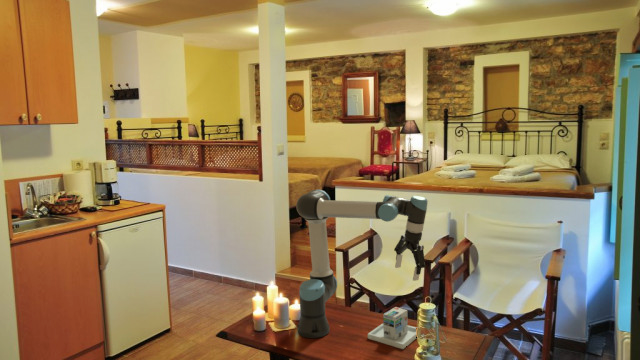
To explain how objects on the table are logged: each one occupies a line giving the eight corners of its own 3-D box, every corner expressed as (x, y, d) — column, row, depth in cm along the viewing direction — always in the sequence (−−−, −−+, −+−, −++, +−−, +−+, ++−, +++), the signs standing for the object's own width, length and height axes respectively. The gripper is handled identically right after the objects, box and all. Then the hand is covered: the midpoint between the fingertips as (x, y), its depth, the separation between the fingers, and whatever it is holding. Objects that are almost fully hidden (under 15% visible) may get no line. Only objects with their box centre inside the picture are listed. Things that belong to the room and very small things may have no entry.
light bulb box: (395, 340, 221) (395, 317, 219) (382, 336, 225) (382, 313, 223) (408, 332, 229) (408, 309, 227) (395, 328, 233) (395, 306, 231)
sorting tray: (367, 338, 225) (367, 333, 225) (387, 324, 239) (387, 319, 239) (403, 349, 214) (403, 344, 214) (422, 333, 228) (422, 329, 228)
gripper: (438, 240, 215) (430, 284, 221) (404, 220, 237) (397, 261, 242) (425, 241, 212) (416, 286, 217) (391, 221, 233) (384, 263, 238)
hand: (406, 273), depth 229 cm, fingers open, 13 cm apart
